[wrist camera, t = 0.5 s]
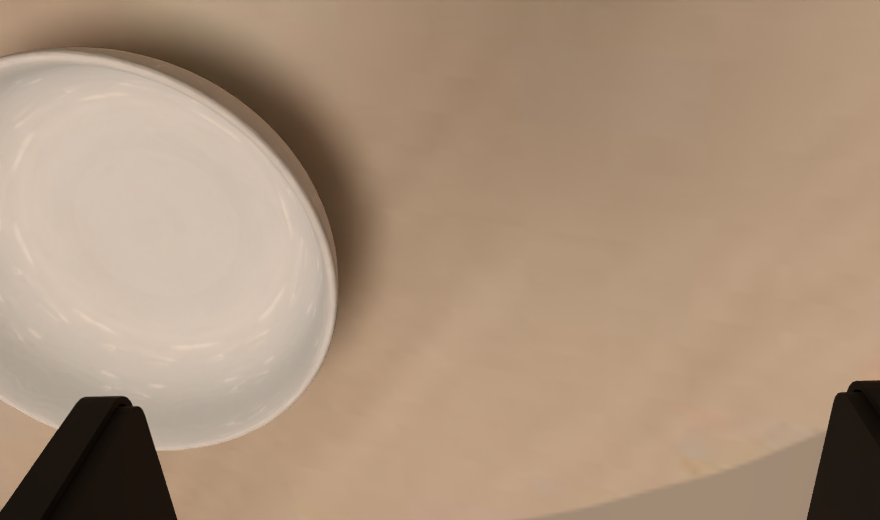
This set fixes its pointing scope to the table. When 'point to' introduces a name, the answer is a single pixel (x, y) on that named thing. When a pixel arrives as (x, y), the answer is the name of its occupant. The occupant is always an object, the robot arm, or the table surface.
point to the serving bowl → (154, 248)
